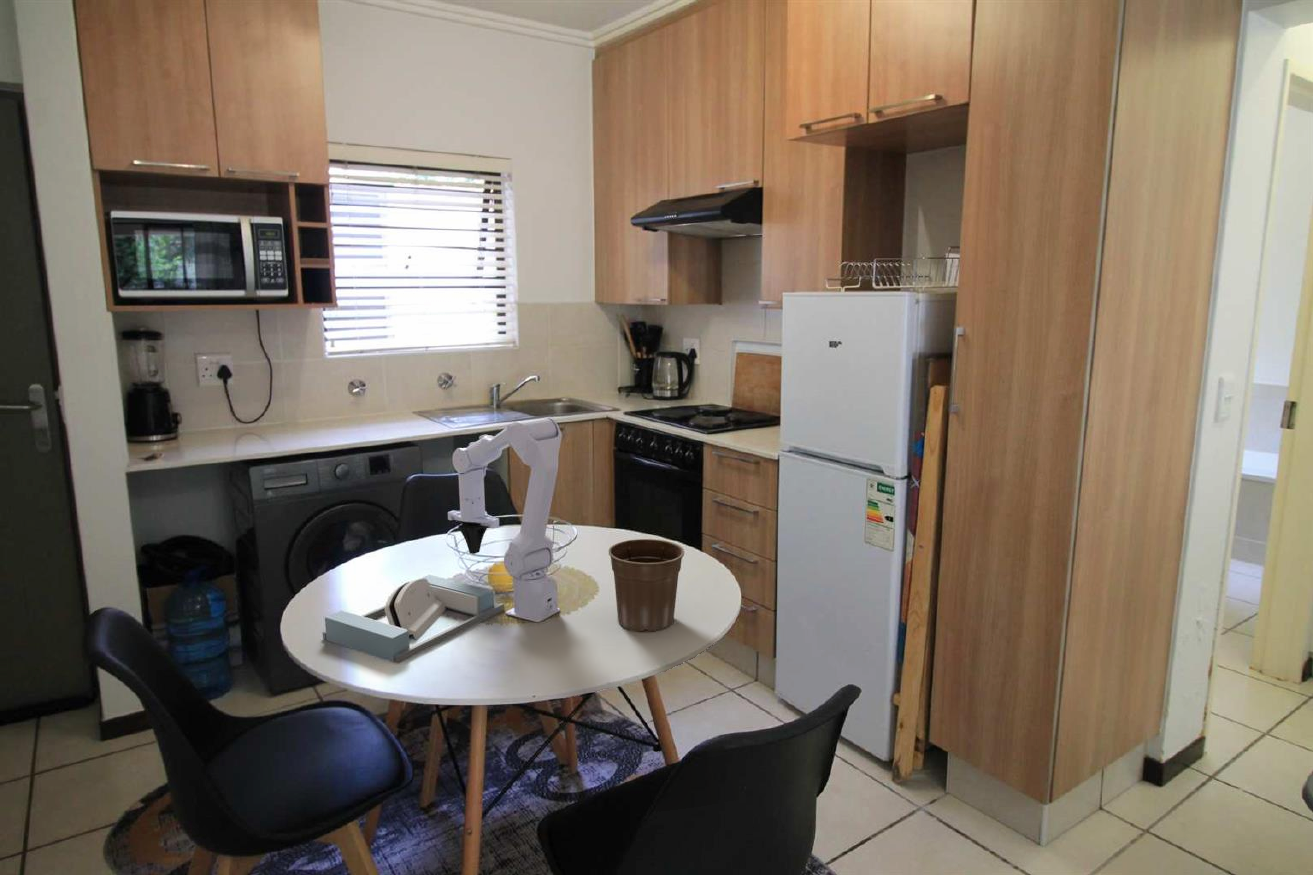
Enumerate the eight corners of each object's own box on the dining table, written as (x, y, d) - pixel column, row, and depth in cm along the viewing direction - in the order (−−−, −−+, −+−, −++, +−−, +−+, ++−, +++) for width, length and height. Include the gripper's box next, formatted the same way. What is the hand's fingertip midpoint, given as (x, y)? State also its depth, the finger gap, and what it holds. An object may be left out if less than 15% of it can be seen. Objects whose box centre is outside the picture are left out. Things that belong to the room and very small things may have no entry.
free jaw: (494, 611, 177) (493, 590, 176) (480, 618, 173) (479, 597, 172) (430, 594, 187) (429, 574, 186) (415, 601, 183) (414, 580, 182)
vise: (504, 609, 178) (503, 588, 177) (397, 663, 152) (396, 639, 151) (433, 591, 189) (432, 571, 188) (323, 638, 163) (321, 616, 162)
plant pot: (698, 617, 174) (698, 546, 171) (656, 643, 160) (656, 567, 158) (638, 601, 183) (637, 534, 180) (594, 625, 169) (593, 553, 167)
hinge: (417, 640, 162) (398, 596, 161) (396, 646, 163) (378, 602, 162) (446, 608, 179) (430, 568, 177) (428, 614, 179) (411, 574, 178)
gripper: (507, 497, 186) (509, 552, 188) (461, 489, 193) (464, 543, 195) (486, 504, 180) (488, 561, 182) (440, 496, 187) (443, 551, 189)
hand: (474, 552), depth 188 cm, fingers closed
